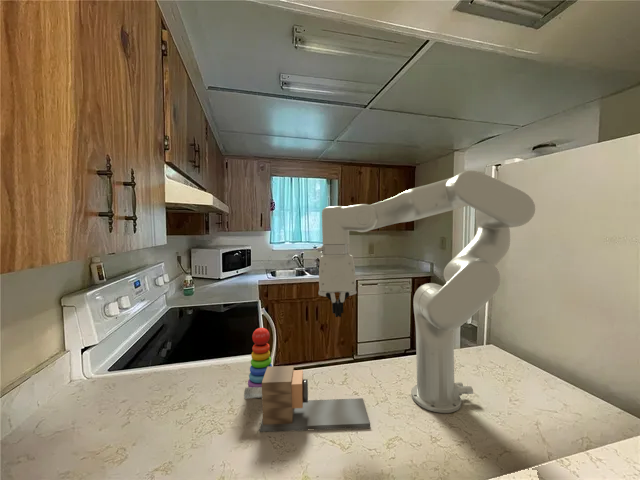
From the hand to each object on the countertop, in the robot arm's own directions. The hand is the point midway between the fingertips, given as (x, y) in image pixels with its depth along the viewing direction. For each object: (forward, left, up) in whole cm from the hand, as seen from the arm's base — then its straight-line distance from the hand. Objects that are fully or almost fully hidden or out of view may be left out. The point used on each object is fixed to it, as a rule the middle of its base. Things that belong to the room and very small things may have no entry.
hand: (338, 315), depth 77 cm
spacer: (+11, +8, -19) cm, 23 cm away
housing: (+7, +8, -23) cm, 25 cm away
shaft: (+17, +8, -19) cm, 27 cm away
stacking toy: (+23, -4, -23) cm, 33 cm away
